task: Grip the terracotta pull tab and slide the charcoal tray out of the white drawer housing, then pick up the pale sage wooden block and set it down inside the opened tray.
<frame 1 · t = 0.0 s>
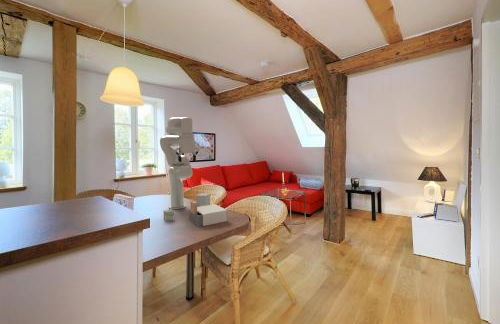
hand: (187, 161, 164), 37 cm above the table, tool pointing down, fingers open, 9 cm apart
supplement box: (203, 211, 175), on the table
white drawer housing: (206, 220, 156), on the table
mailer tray: (206, 210, 155), point 7 cm above the table, slide at 0.0 cm
sage block: (168, 219, 157), on the table
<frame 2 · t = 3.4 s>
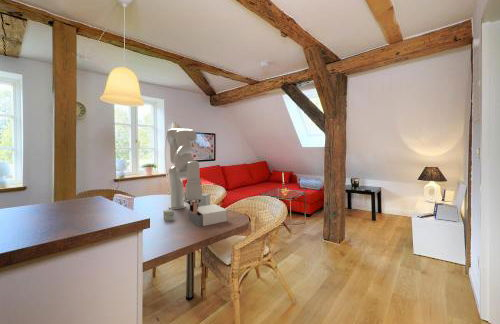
hand: (193, 210, 150), 8 cm above the table, tool pointing down, fingers closed on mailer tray, 2 cm apart
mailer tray: (206, 210, 155), point 7 cm above the table, slide at 0.0 cm, touching gripper
everything else where it was.
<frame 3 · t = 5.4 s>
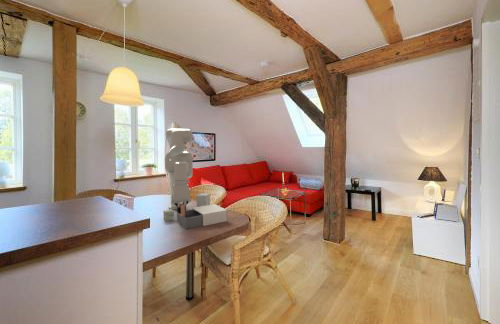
hand: (181, 212, 146), 8 cm above the table, tool pointing down, fingers closed on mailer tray, 2 cm apart
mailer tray: (194, 212, 151), point 7 cm above the table, slide at 7.8 cm, touching gripper
everything else where it was.
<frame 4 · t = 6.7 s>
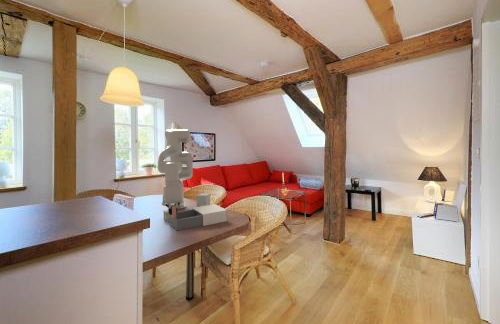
hand: (172, 214, 143), 8 cm above the table, tool pointing down, fingers closed on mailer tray, 2 cm apart
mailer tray: (186, 213, 148), point 7 cm above the table, slide at 12.9 cm, touching gripper
everything else where it was.
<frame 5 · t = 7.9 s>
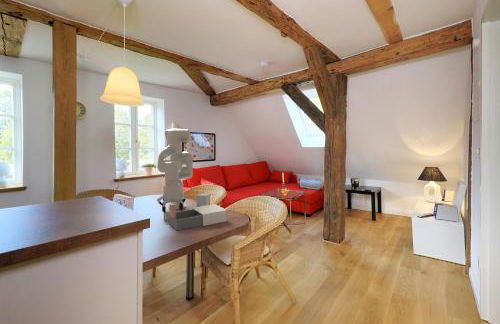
hand: (172, 211, 143), 9 cm above the table, tool pointing down, fingers open, 9 cm apart
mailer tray: (186, 213, 148), point 7 cm above the table, slide at 13.0 cm
everything else where it was.
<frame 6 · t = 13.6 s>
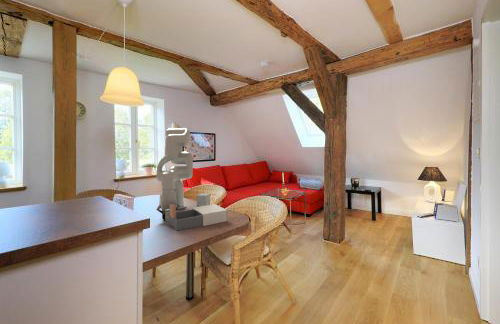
hand: (168, 218, 157), 0 cm above the table, tool pointing down, fingers closed on sage block, 5 cm apart
sage block: (168, 219, 157), on the table, touching gripper
everything else where it was.
when the fingers open (3 cm above the table, at t = 22.4 s): sage block drops 1 cm, resting on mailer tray.
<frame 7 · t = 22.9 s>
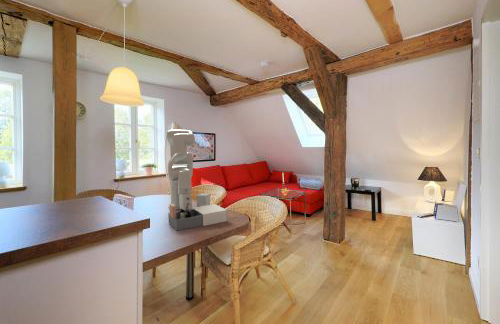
hand: (185, 218, 148), 4 cm above the table, tool pointing down, fingers open, 9 cm apart
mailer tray: (186, 213, 148), point 7 cm above the table, slide at 13.0 cm, touching sage block
sage block: (185, 222, 148), point 1 cm above the table, touching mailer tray
everything else where it was.
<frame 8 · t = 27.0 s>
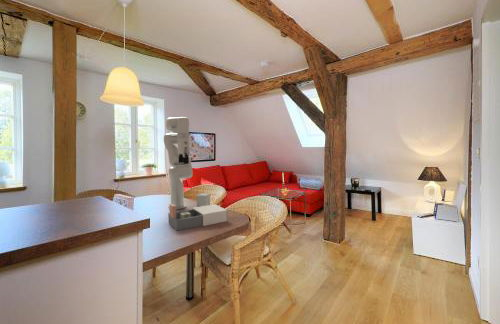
hand: (183, 163, 158), 36 cm above the table, tool pointing down, fingers open, 9 cm apart
nothing on the table moved.
at the end: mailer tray slide at 13.0 cm; sage block inside the target area (0.1 cm from its centre), point 0.8 cm above the table; sage block tilted 0° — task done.
